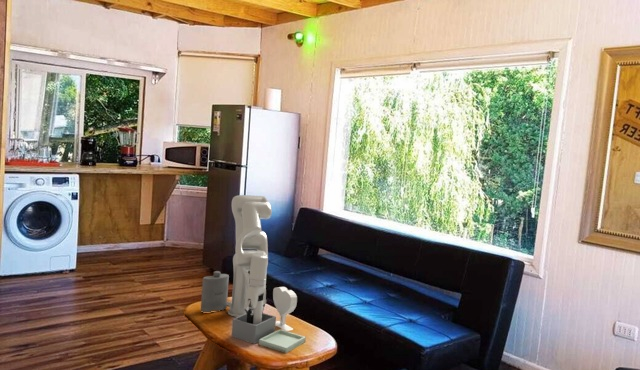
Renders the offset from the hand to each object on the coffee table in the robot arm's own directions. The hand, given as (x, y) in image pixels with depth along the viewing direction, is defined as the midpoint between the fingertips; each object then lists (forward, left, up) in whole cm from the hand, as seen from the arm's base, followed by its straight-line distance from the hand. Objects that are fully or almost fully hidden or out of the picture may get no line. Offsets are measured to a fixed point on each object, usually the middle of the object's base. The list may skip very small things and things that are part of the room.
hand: (254, 320), depth 226 cm
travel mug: (0, 0, -7) cm, 7 cm away
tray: (+15, +1, -7) cm, 16 cm away
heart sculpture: (+3, +19, -7) cm, 20 cm away
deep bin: (0, 0, -7) cm, 7 cm away
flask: (-35, +14, -7) cm, 38 cm away
